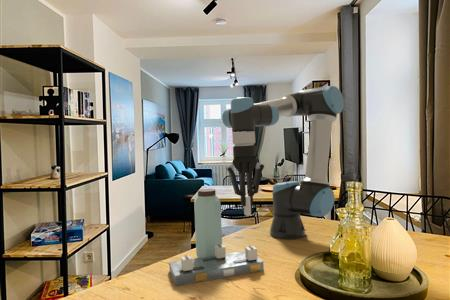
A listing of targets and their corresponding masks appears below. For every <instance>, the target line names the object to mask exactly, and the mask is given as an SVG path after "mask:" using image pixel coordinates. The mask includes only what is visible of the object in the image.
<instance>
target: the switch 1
mask: <svg viewBox="0 0 450 300" xmlns="http://www.w3.org/2000/svg"><path fill="white" fill-rule="evenodd" d="M192 259H193V257H192V256H191V255H187V254H185V255H184V256H180V261H181V266H182V270H183V271H187V270H193V262H192Z"/></svg>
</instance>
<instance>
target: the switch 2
mask: <svg viewBox="0 0 450 300" xmlns="http://www.w3.org/2000/svg"><path fill="white" fill-rule="evenodd" d="M226 251H227V250H226V246H225V245H224V244H223V243H222V245H220V244H218V245H215V256H216V258H224V257H226V254H227V253H226Z"/></svg>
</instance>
